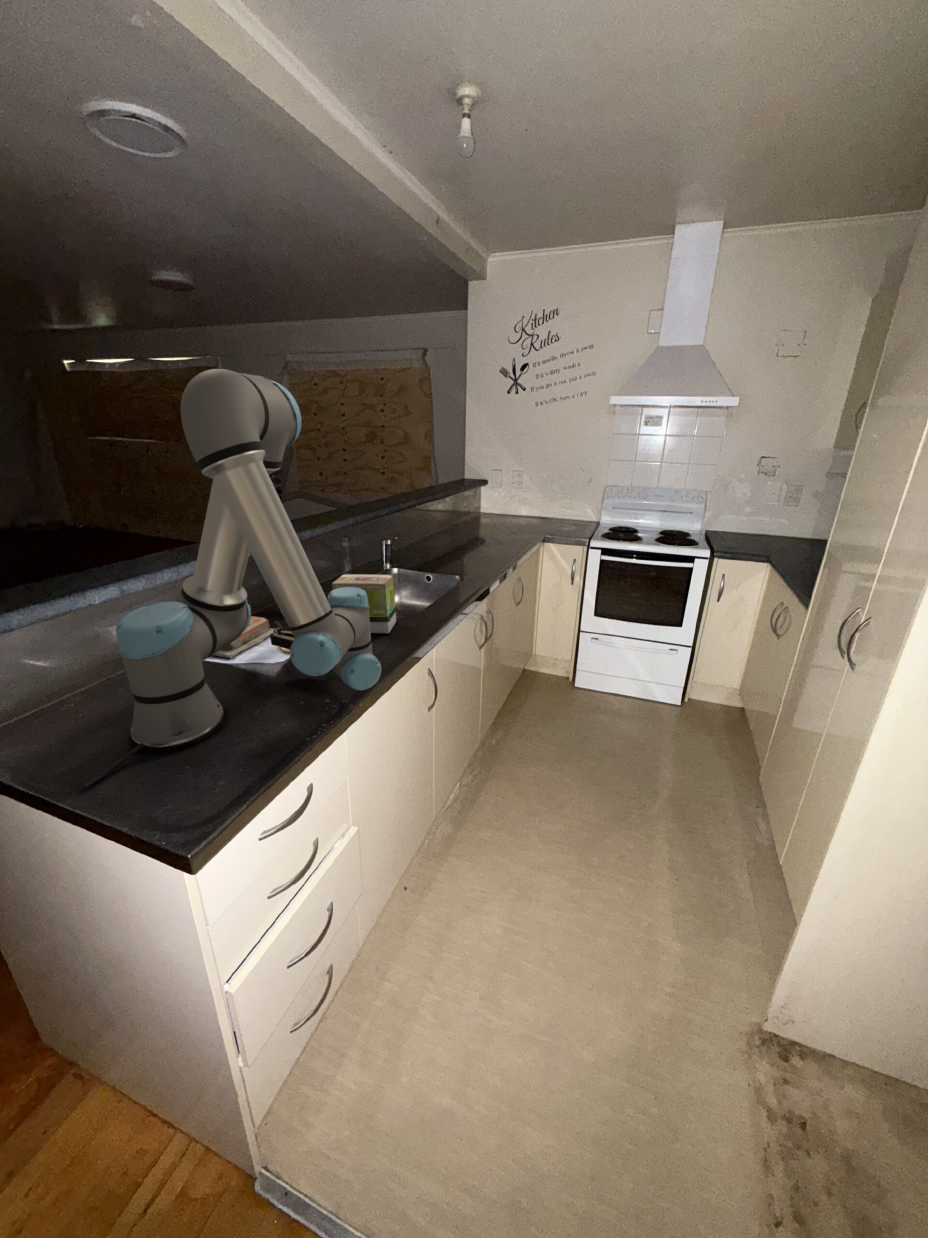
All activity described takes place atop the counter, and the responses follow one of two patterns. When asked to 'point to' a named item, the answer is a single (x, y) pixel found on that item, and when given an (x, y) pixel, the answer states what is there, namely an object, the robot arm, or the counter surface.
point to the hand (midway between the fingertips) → (303, 619)
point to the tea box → (374, 598)
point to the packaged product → (247, 637)
